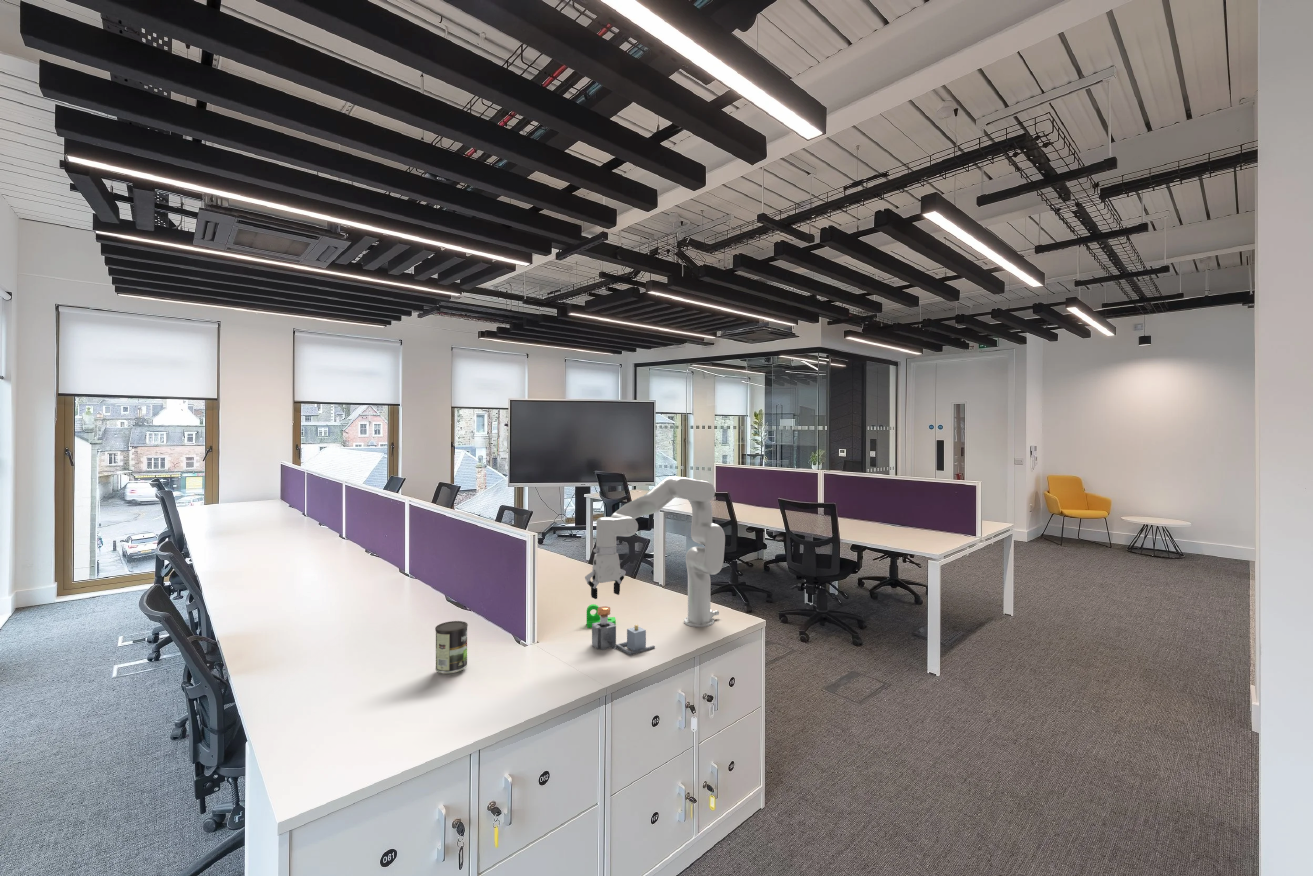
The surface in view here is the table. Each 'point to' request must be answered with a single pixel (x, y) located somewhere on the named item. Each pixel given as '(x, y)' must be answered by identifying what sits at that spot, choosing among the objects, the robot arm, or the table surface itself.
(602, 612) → the plunger
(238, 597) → the table surface
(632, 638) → the light blue block
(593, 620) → the mechanical part
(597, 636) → the copper disc holder
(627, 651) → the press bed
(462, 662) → the coffee can
